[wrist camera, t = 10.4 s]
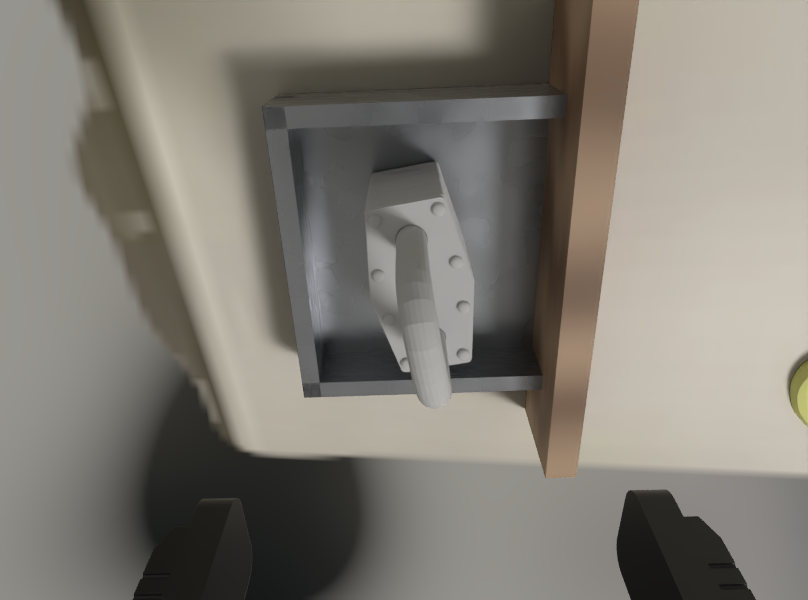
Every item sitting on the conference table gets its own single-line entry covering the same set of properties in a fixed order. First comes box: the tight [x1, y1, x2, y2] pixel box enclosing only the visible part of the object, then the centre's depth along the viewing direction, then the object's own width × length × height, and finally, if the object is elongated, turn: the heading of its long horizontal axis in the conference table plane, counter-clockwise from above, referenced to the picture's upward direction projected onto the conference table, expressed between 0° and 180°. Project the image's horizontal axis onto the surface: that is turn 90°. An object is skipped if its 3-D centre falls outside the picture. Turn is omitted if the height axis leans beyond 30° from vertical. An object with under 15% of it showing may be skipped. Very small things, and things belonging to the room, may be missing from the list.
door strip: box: [525, 0, 639, 478], centre depth 24 cm, size 20×1×5 cm, turn 2°
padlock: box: [364, 162, 474, 408], centre depth 22 cm, size 7×4×10 cm, turn 11°
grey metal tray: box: [262, 83, 567, 398], centre depth 25 cm, size 13×11×3 cm
